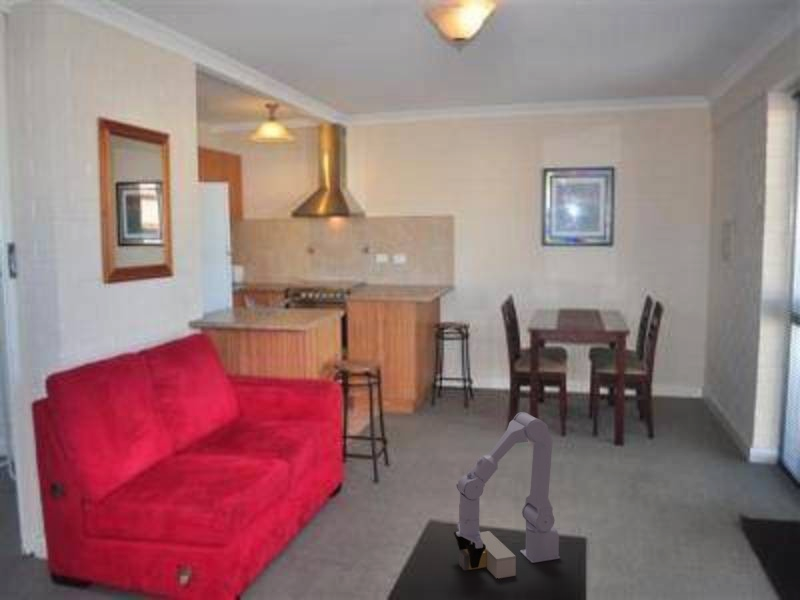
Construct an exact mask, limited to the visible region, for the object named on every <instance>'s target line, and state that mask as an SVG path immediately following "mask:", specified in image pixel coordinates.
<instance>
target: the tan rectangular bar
mask: <svg viewBox="0 0 800 600" xmlns="http://www.w3.org/2000/svg"><path fill="white" fill-rule="evenodd" d="M458 565H459V566H460V567H461V569H462V570H463V571H469V570H471V571H472V570H476V569H481V568H487V551H486V550H484V552H483V553H482V556H481V559H480V563H479V566H478V568H471V566H470V559H469V553H468V550H467V549H463V550H459V549H458Z"/></svg>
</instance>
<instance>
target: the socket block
mask: <svg viewBox="0 0 800 600" xmlns="http://www.w3.org/2000/svg"><path fill="white" fill-rule="evenodd" d="M480 535H481V540H482V541H483V543H484V544H485V545H486V549H485V550H486V551H487V567H486V569H487V570H488V572H490V573H491V575H493V577H494V578H495V579H497V578H498V579H503V578H508V577H514V576H515V577H516V574H517V573H516V571H517V570H516V567H517V566H516V563H517V559H516V558H517V557H516V555H515V554H514V553H513V552H512V551H511V550H510V549H509V548H508V547H507V546H506V545H505V544H504V543H502V542H501V541H500V540H499V539H498V538H497V537H496V535H494V534H493V533H492V532H491V531H490V530H487V531H480ZM470 544H472V541H470Z"/></svg>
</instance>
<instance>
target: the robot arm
mask: <svg viewBox="0 0 800 600" xmlns="http://www.w3.org/2000/svg"><path fill="white" fill-rule="evenodd" d="M513 417H514V418H513V419H512V420H511V421H509V423H508V426H507V429H506V430H505V432H504V433H503V434H502V436H500V437H501V438H499V440H498V441H497V443H496V444H495V445H494V447H493V449H491V451H490V452H489V453H488V454H483V455H481V457H478V458H477V459H476V463H475V465H473V466H472V467H471V469H470V470H469V471H467V472H466V474H465V475H462V476H461V477H460V478H459V479H458V481H457V484H456V489H457V491H458V492H459V504H460V522H459V521H457V522H456V529H457V531H453V535H454V537H455V540H456V542H457V547H458V551H459V550H463V549H467V550H468V553H469V559H470V566H471V568H477V569H479V568H478V566H479V563H480V559H481V556H482V553H483V552H484V550H485V549H486V545H485V544H484V543H483V541H482V540H481V535H480V532H481V531H480V497H481V496H483V493H484V487H485V485H486V484H487V482H488V481H489V480H490V479H491V478H492V476H494V474H495V472H496V471H497V470H498V469H499V467H498V466H499V462H500V461H501V460H502V458H504V456H506V454H507V453H509V451H510V450H511V449H512V448H513V447H514V446H515V445H516V444H519V443H528V442H529V441H530V442H531V443H532V444H533V448H532V449H533V451H532V462H531V463H532V464H531V475H530V476H531V477H530V489H529V494H528V496H526V498H525V503H524V506H523V507H522V510H521V514H522V518H523V519H524V520H525V549H520V551H519V552H520V554H522V555H523V556H524V557H525V558H526V559H527V560H528V561H529V562H530V563H533V564H534V563H540V562H547V561H552V560H558V559H559V560H560V558H561V556H559V549H560V548H559V546H560V543H559V541H560V537H559V532H558V529H557V528H556V526H555V516H554V513H553V510H554V509H553V506H552V503H551V501H550V499H549V494H550V493H549V492H550V481H551V479H550V478H551V468H552V467H551V466H552V454H553V453H552V451H553V438H552V436H551V434H550V431H549V429H548V428H549V425H548V424H547V423H545V422H544V421H543V420H542V419H540V418H537V417H534V416H533V415H531V414H529V413H527V412H526V411H521V412H520V411H519V412H518V413H516V415H515V416H513ZM471 541H472V544H471Z"/></svg>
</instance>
